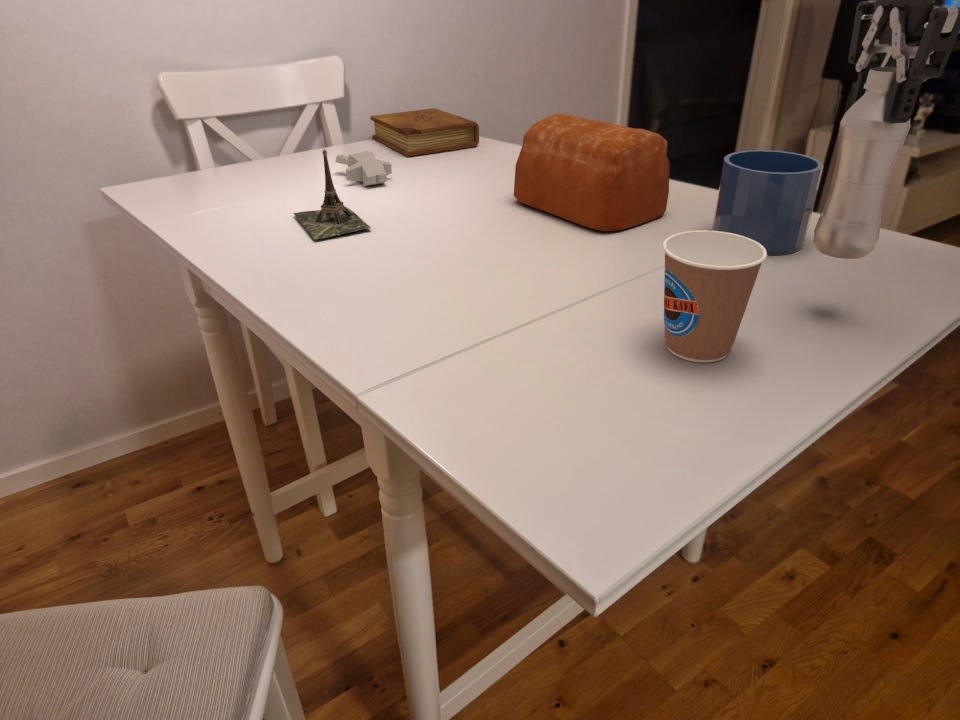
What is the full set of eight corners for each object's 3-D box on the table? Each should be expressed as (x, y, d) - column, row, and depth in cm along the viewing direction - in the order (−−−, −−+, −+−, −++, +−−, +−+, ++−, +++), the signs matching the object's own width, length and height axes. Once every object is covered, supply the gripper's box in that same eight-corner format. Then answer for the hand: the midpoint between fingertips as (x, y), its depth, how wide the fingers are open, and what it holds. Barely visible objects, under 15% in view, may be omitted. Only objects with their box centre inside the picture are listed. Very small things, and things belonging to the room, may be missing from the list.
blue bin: (780, 223, 108) (796, 148, 102) (820, 253, 96) (841, 171, 90) (699, 226, 108) (711, 151, 101) (730, 257, 96) (745, 175, 90)
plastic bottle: (884, 264, 74) (943, 72, 64) (823, 266, 74) (873, 75, 64) (855, 243, 79) (906, 64, 69) (799, 245, 79) (841, 66, 69)
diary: (479, 146, 158) (478, 121, 155) (407, 157, 150) (405, 131, 148) (438, 129, 175) (437, 106, 172) (372, 138, 168) (370, 115, 165)
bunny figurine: (353, 171, 126) (328, 146, 137) (355, 196, 129) (331, 170, 140) (399, 164, 130) (371, 140, 141) (400, 188, 133) (373, 164, 144)
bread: (604, 237, 104) (612, 141, 96) (507, 201, 121) (507, 117, 113) (674, 214, 113) (686, 124, 105) (574, 184, 130) (578, 104, 122)
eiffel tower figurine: (292, 216, 117) (278, 138, 110) (346, 206, 121) (337, 131, 114) (314, 242, 105) (300, 158, 98) (374, 231, 109) (365, 149, 102)
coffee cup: (635, 332, 77) (645, 235, 71) (714, 321, 79) (731, 225, 73) (677, 377, 69) (693, 272, 63) (764, 363, 71) (789, 260, 65)
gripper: (1030, -83, 54) (959, 129, 63) (921, -75, 66) (874, 102, 75) (940, -80, 54) (881, 132, 62) (848, -72, 66) (809, 105, 75)
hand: (878, 115), depth 69 cm, fingers closed on plastic bottle, 6 cm apart
